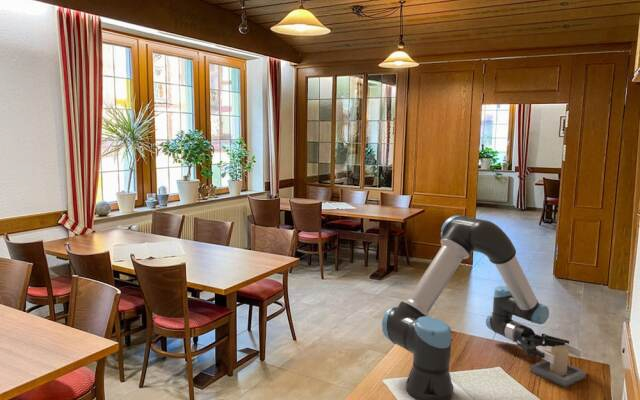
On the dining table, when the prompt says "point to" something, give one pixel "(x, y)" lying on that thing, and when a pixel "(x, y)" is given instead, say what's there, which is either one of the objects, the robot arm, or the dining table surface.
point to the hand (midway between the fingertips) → (567, 356)
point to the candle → (559, 360)
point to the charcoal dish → (564, 381)
